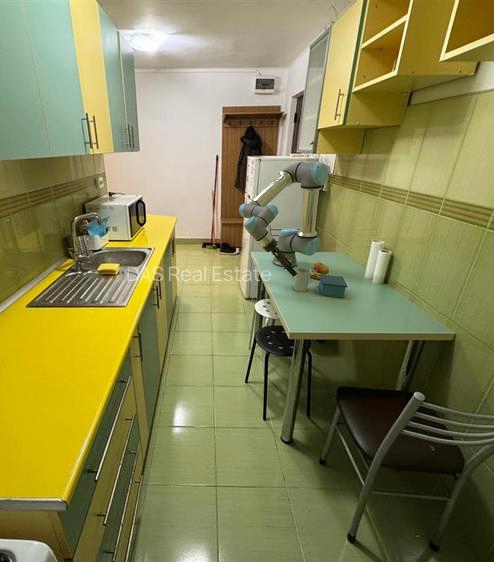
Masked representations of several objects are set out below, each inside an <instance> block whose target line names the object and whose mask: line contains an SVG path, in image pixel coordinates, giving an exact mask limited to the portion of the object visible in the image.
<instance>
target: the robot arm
mask: <svg viewBox="0 0 494 562" xmlns="http://www.w3.org/2000/svg"><path fill="white" fill-rule="evenodd" d="M328 179H329V168H328V166H327V164H326V163H324V162H319V161H304V160H299V161H295V162H293V163H291V164H289V165H287V166H286V167H284V168H283V169H282V170H281V171H280V172H278V174H277V176H276V178H275V179H273V180H272V181H271V182H270V183H269V184H268V185H267V186H266V187H264V189H262V190H261V192H259V194H257V195H256V196H255V197H254V198H253V199H251V201H250V202H249V203H242V204H240V206H239V208H238V213H239V216H241V217H242V218H244V219H247V220H246V221H245V222H244V223H243V227H244V229H245V230H246V231H247V233H248V234H249V235H250V236H251V237H252V238H253V239H254V240H255V241H256V245H259V246H261V247H262V249H263V250H264V251H265V252H266V253H270V252H271V254H272V256H274V257H273V261H272V263H273V265H276V266H279V267H283V270H286V271H287V272H288V274H290V275H291V277H292V278H295V275H297V272H296V269H294V268H293V267H296V266H297V263H298V262H297V261H298V260H297V257H296V253H299V254H301V255H304V256H309V257H310V256H314V255H315V254H316V253H318V252H317V251H318V250H319V248H320V246H321V239H320V237H318V232H317V231H316V224H317V214H318V206H319V197H320V196H319V195H320V190H322V189H323V186H324V185H325V184H326V183H327V182H328ZM296 183H297V184H300V189H301V191H302V202H301V212H300V213H301V214H300V224H299V225H300V226H299V229H297V228H285V229H281V230H280V231H279V235H278V241H277V240H276V239H275V237H274V236H273V235H272V234H271V233H270V232H269V230H267V228H268V226H269V225H270V224H271V223H272V222H273V221H274V220H275V219H276V217H277V216H278V214H279V208H278V207H277V206H276V205H275V204H273V203H271V202H272V201H273V200H274V199H275V198H276V197H277V196H278V195H279V194H280V193H282V192H283V190H285V189H286V188H287V187H291V186H292V185H294V184H296Z"/></svg>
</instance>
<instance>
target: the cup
mask: <svg viewBox="0 0 494 562" xmlns="http://www.w3.org/2000/svg"><path fill="white" fill-rule="evenodd" d="M295 271H296V272H297V275H295V276H294V281H293V286H292V287H293V290H294V291H297V292H301V293H304V292H305V293H306V292H307V291H308V288H309V284H310V279H311V278H310V273H311V271H310V268H309V269H308V268H306V267H297V268H296V269H295Z"/></svg>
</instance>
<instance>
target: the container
mask: <svg viewBox="0 0 494 562" xmlns="http://www.w3.org/2000/svg"><path fill="white" fill-rule="evenodd" d="M320 277H321V278H320V279H319V284H318V288H319V291H320V295H321V296H325V297H326V296H327V297H334V298H345V293H346V290H347V289H346V288H348V285H347V282H346V280H345V278H344V276H339V275H329V274H326V275H322V274H320Z"/></svg>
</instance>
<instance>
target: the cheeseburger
mask: <svg viewBox="0 0 494 562" xmlns="http://www.w3.org/2000/svg"><path fill="white" fill-rule="evenodd" d="M309 270H310V271H311V273H310V277H311V278H312V279H315V280H320V278H321V277H320V274H322V275H329V273H330V268H329V266H325V265H324V263H322V262H320V261H317V262H315V263H314V264H313V267H311V268H309Z"/></svg>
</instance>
